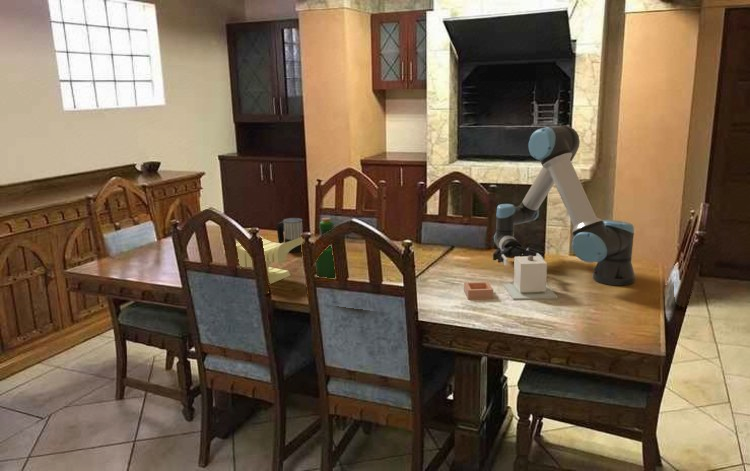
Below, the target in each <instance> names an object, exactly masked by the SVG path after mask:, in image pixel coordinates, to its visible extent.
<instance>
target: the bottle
mask: <svg viewBox="0 0 750 471" xmlns="http://www.w3.org/2000/svg"><path fill="white" fill-rule="evenodd" d="M331 219H332V218H331V217H322V218H321V221H319V226H318V227H319V229H320V233H321V234H319V235H318V236H317V237H316V238H315V239H314V241H315V240H316V239H317V238H318V237H319V236H321V235H323V234H324V233H326V232H327V231H329V230H331V229H332V228H333V229H334V228H335V226H334V222H333V220H331ZM316 270H317V274H316V277H317V276H319V277H327V278H335V269H334V261H333V255H332V248H331V246H329V247H328V248H327V249H326V250H324V251H323V253H322V254H321V255H320V256H319V258H318V260H317V261H316V265H315V271H316Z"/></svg>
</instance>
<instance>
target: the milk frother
mask: <svg viewBox="0 0 750 471" xmlns="http://www.w3.org/2000/svg"><path fill="white" fill-rule="evenodd" d="M276 233H277V240H278V243H280V244H282V243H286V242H289V241H292V240H294V239H297V238H300V237H301V236H300V234H301V233H302V234H303V219H302V218H299V217H289V218H284V219H283V220H282V221H280V222H278V223H277V225H276ZM299 252H302V251H301V245H298V246H296V247H295V248H293V249H292V250H290V251H289V253H299Z"/></svg>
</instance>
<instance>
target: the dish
mask: <svg viewBox="0 0 750 471" xmlns="http://www.w3.org/2000/svg"><path fill="white" fill-rule="evenodd" d="M463 293H464V294H465V296H466V298H467V300H469V301H470V300H472V299H473V300H474V299H475V300H493V299H494V289H493V287H492V286H491V283H490V282H489V281H465V282H463Z"/></svg>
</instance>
